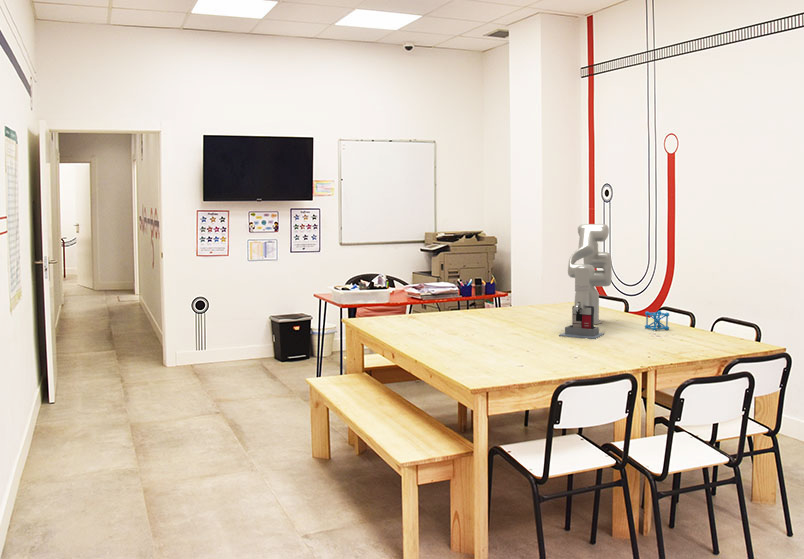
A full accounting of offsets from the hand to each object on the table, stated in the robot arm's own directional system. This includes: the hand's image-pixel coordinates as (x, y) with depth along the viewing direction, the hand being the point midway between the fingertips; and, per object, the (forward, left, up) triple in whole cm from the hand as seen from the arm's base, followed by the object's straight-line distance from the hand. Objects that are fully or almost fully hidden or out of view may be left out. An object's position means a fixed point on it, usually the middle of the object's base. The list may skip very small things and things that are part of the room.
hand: (581, 319), depth 397 cm
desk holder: (0, 0, -8) cm, 8 cm away
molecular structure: (-36, +31, -9) cm, 48 cm away
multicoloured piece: (-2, 0, -8) cm, 8 cm away
